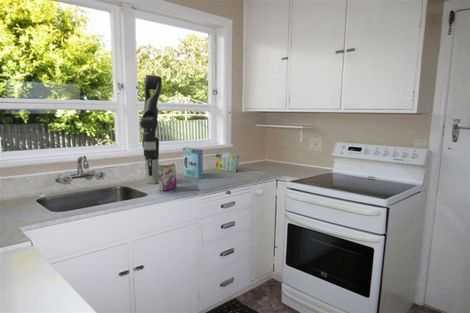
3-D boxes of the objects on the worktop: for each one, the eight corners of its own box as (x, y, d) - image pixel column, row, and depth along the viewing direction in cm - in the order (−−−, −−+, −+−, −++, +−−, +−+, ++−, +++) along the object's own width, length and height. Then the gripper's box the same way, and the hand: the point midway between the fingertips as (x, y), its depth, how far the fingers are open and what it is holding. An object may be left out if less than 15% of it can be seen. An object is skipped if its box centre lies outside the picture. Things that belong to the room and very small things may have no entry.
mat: (173, 186, 210) (173, 185, 209) (196, 185, 214) (196, 184, 214) (175, 191, 195) (175, 190, 195) (199, 190, 199) (199, 189, 199)
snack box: (239, 171, 268) (239, 154, 266) (235, 172, 263) (235, 155, 261) (219, 169, 279) (219, 152, 277) (215, 170, 274) (215, 153, 272)
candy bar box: (163, 191, 195) (161, 166, 193) (158, 190, 198) (156, 165, 196) (177, 187, 204) (175, 163, 201) (172, 186, 207) (170, 162, 204)
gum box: (203, 178, 237) (203, 149, 234) (197, 179, 234) (197, 149, 231) (188, 174, 251) (187, 147, 248) (183, 175, 248) (182, 147, 245)
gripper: (143, 147, 199) (144, 173, 201) (143, 150, 186) (144, 177, 188) (155, 147, 201) (156, 173, 203) (155, 149, 188) (156, 177, 190)
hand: (150, 175), depth 196 cm, fingers closed
